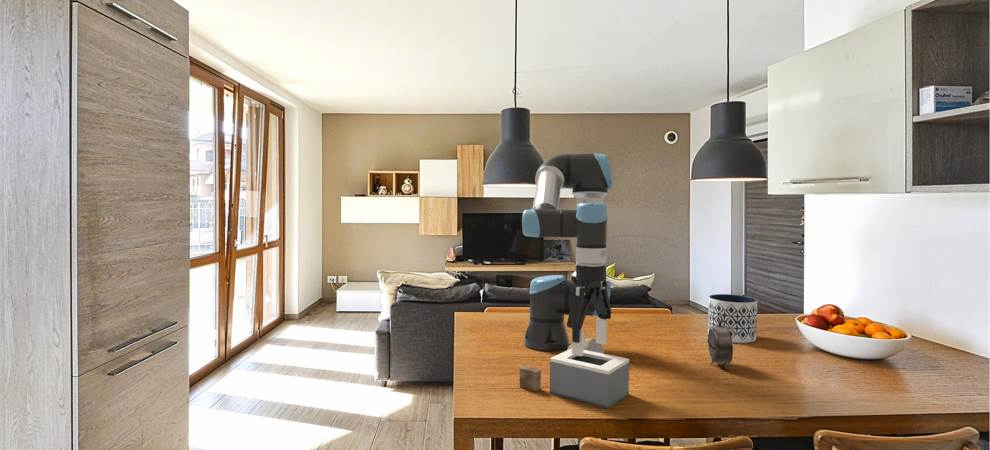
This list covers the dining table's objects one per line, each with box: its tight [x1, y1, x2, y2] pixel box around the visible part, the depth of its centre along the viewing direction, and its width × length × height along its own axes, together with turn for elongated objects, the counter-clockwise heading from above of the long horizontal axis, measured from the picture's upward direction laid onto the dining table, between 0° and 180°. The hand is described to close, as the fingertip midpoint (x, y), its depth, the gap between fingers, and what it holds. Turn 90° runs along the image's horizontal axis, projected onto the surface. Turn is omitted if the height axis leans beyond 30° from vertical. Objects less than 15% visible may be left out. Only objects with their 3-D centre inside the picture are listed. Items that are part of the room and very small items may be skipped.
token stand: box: [519, 365, 542, 392], centre depth 134 cm, size 5×2×5 cm, turn 52°
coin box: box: [549, 348, 630, 410], centre depth 130 cm, size 16×12×9 cm
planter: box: [707, 293, 758, 344], centre depth 185 cm, size 16×16×14 cm
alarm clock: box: [706, 312, 734, 372], centre depth 153 cm, size 11×5×16 cm, turn 170°
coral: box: [566, 337, 605, 354], centre depth 149 cm, size 10×10×10 cm
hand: (589, 349), depth 130 cm, fingers open, 12 cm apart
